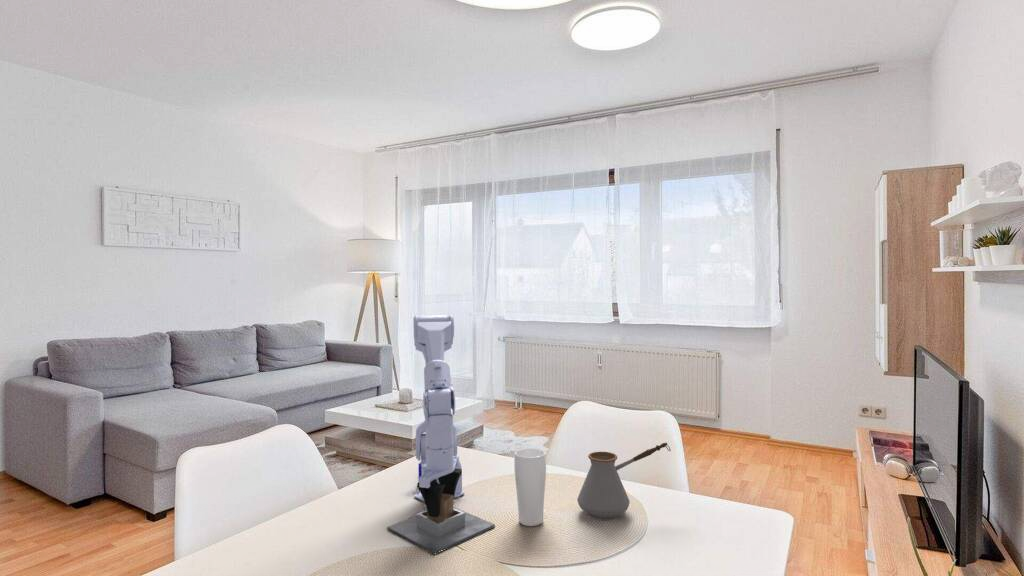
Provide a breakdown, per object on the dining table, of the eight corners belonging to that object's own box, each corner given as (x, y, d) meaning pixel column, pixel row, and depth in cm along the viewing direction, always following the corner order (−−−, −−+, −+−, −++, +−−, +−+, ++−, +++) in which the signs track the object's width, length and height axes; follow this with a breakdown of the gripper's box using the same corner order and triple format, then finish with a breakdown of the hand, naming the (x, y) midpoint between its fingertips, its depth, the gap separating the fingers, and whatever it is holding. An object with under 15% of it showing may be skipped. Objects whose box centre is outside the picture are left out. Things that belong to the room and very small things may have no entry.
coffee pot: (585, 526, 117) (584, 455, 117) (572, 504, 128) (571, 440, 128) (681, 519, 120) (680, 450, 120) (660, 498, 131) (659, 435, 131)
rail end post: (436, 520, 120) (436, 492, 119) (453, 522, 118) (453, 494, 118) (427, 528, 116) (427, 499, 116) (445, 530, 114) (444, 502, 114)
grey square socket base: (446, 506, 128) (446, 492, 128) (494, 527, 117) (494, 512, 117) (387, 529, 117) (387, 514, 117) (434, 554, 106) (434, 538, 106)
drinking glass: (551, 518, 121) (550, 449, 121) (539, 531, 115) (538, 459, 115) (523, 513, 124) (522, 446, 124) (510, 525, 118) (509, 455, 118)
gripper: (438, 434, 125) (439, 494, 125) (405, 454, 111) (406, 521, 111) (467, 437, 123) (468, 498, 123) (436, 457, 109) (438, 526, 109)
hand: (440, 509), depth 117 cm, fingers open, 6 cm apart
